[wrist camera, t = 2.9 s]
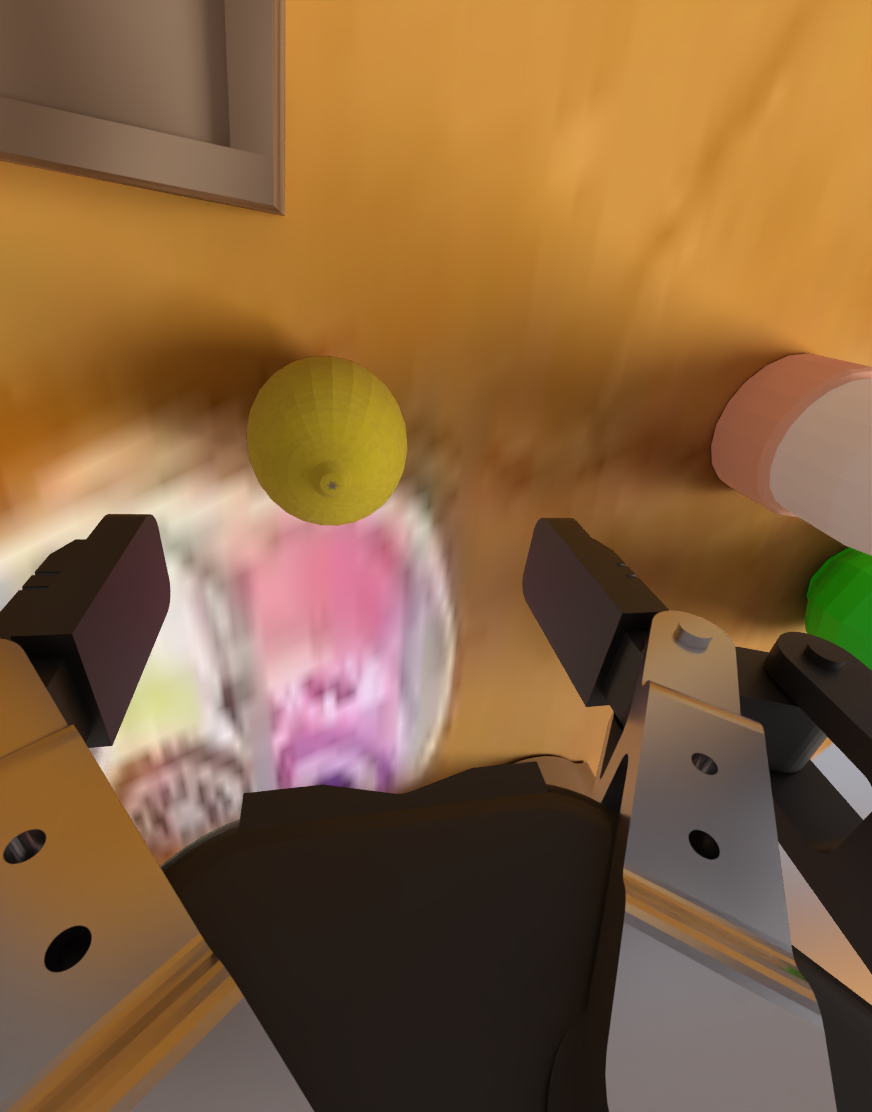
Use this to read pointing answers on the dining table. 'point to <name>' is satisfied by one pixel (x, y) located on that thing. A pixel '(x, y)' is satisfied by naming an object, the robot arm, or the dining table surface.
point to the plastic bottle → (843, 603)
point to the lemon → (326, 440)
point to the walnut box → (149, 94)
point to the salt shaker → (803, 444)
